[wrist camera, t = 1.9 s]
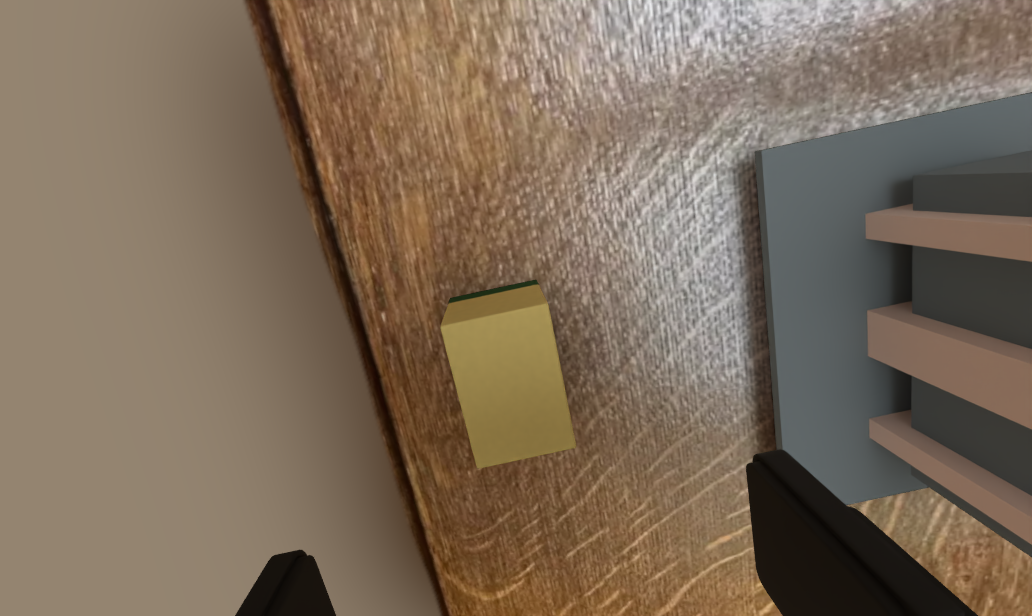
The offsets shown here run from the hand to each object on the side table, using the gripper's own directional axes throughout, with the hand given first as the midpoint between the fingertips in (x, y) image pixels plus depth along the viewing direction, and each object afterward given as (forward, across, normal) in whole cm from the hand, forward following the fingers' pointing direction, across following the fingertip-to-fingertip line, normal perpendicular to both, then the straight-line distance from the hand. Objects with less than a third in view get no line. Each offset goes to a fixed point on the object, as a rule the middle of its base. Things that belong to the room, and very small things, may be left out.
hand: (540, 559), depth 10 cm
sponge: (+13, 0, 0) cm, 13 cm away
